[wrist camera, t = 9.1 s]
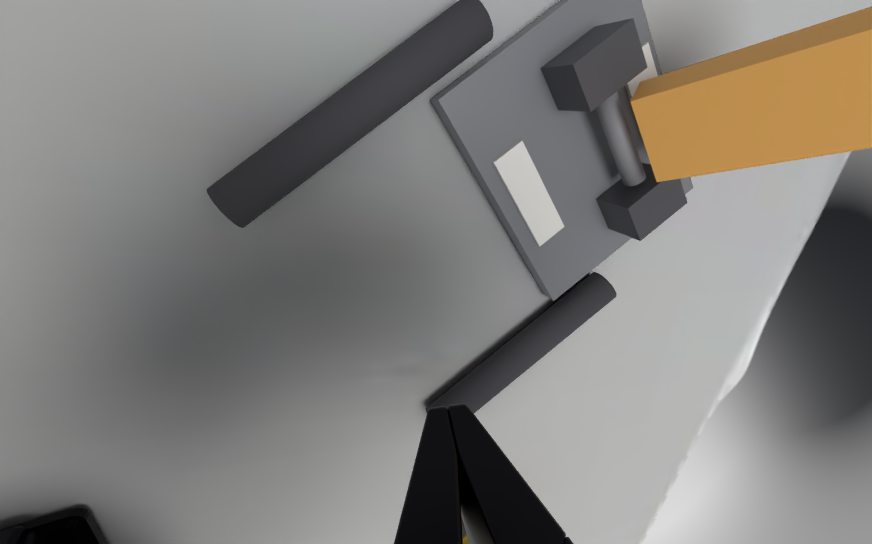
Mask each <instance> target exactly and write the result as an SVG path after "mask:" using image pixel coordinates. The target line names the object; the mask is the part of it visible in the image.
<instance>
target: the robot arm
mask: <svg viewBox="0 0 872 544" xmlns="http://www.w3.org/2000/svg"><path fill="white" fill-rule="evenodd" d="M461 516H462V520H463V523H464V527H465V531H466V535H467V538H468V542H469V544H573V542H572V541H571V540H570V538H569V537H566V538H565V536H566V534H565V532H564V531H563V530H562V528H561V527H560V526H559V524H558V523H557V522H556V520H555V519H554V518H553V517H552V515H551V514H550V513H549V511H548V510H547V509H546V507H545V506H544V505H543V504H542V502H541V501H540V500H539V498H538V497H537V496H536V494H535V493H534V492H533V491H532V489H531V488H530V487H529V485H528V484H527V483H526V481H525V480H524V479H523V477H522V476H521V475H520V474H519V472H518V471H517V470H516V468H515V467H514V466H513V464H512V463H511V462H510V461H509V459H508V458H507V457H506V455H505V454H504V453H503V451H502V450H501V449H500V448H499V446H498V445H497V444H496V442H495V441H494V440H493V438H492V437H491V436H490V435H489V433H488V432H487V431H486V429H485V428H484V427H483V425H482V424H481V423H480V422H479V420H478V419H477V418H476V416H475V415H474V414H473V412H472V411H471V410H470V409H469V407H468V406H467V405H466V404H463V403H462V404H454V405H449V406H448V408H447V407H446V406H439V407H431V408H430V409H429V410H428V412H427V416H426V420H425V424H424V428H423V432H422V436H421V440H420V444H419V448H418V452H417V455H416V459H415V463H414V467H413V471H412V475H411V479H410V483H409V487H408V491H407V495H406V499H405V502H404V506H403V510H402V514H401V518H400V522H399V526H398V530H397V534H396V538H395V542H394V544H463V539H462V520H461ZM71 520H77V521H71ZM0 544H107V543H106V541H105V539H104V538H103V536H102V534H101V532H100V530H99V529H98V527H97V525H96V523H95V521H94V519H93V518H92V516H91V514H90V512H89V511H88V510H86V509H83V508H74V509H70V510H66V511H63V512H59V513H56V514H53V515H49V516H46V517H42V518H39V519H36V520H32V521H29V522H25V523H22V524H19V525H15V526H12V527H8V528H5V529H2V530H0Z"/></svg>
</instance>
